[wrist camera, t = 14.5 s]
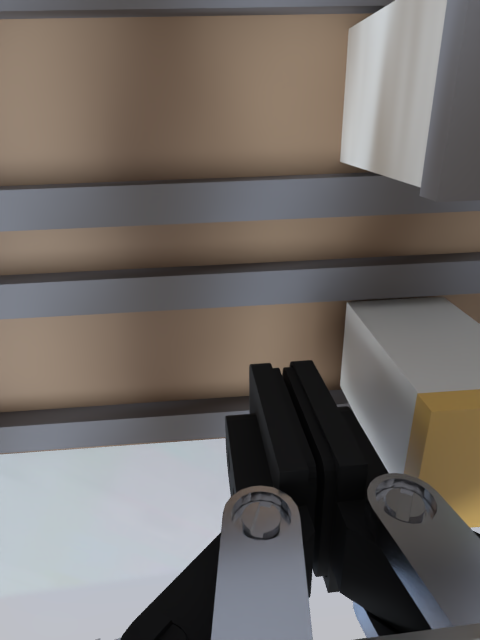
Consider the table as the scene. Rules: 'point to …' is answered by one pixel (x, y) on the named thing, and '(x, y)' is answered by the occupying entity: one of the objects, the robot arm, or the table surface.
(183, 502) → the table surface
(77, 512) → the table surface
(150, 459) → the table surface
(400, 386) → the block
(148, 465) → the table surface
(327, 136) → the board
